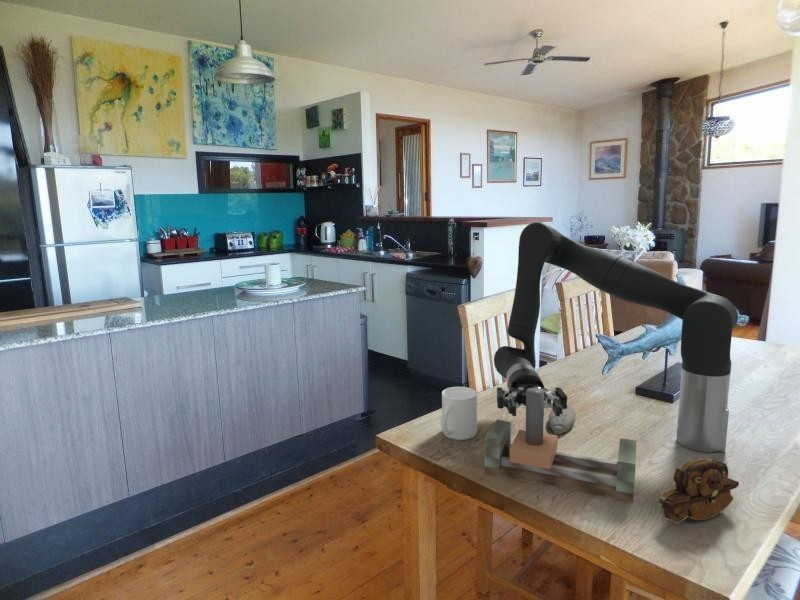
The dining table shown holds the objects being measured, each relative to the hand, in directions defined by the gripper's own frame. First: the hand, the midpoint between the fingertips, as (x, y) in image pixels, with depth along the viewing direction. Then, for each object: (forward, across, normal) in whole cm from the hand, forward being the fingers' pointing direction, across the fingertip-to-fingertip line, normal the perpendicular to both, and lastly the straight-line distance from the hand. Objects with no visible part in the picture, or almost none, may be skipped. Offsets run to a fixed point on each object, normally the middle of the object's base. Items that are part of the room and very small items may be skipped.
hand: (536, 411), depth 104 cm
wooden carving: (+14, +26, +14) cm, 32 cm away
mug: (-17, -16, +14) cm, 27 cm away
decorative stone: (-25, +10, +14) cm, 30 cm away
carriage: (-2, 0, +10) cm, 10 cm away
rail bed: (0, +5, +14) cm, 14 cm away
